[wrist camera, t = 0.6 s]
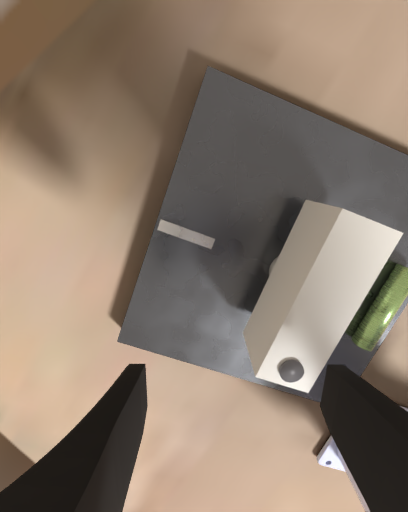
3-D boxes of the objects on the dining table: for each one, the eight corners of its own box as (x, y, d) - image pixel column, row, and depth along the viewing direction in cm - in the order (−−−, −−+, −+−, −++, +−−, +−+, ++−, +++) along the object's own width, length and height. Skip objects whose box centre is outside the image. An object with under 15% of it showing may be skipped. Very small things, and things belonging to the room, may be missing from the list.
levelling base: (459, 187, 18) (506, 189, 15) (330, 393, 23) (348, 423, 20) (207, 75, 16) (208, 54, 13) (122, 329, 21) (111, 354, 18)
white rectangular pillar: (340, 214, 17) (406, 233, 11) (278, 333, 19) (309, 396, 14) (296, 197, 16) (344, 209, 11) (239, 321, 19) (256, 380, 13)
